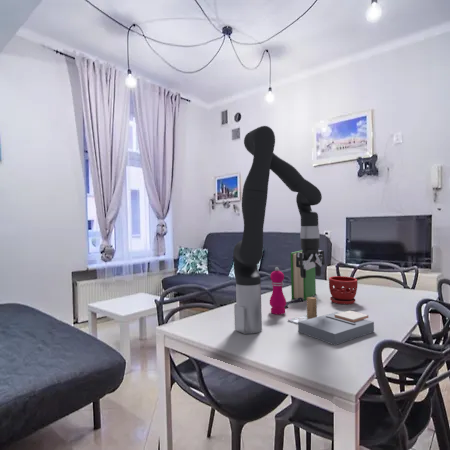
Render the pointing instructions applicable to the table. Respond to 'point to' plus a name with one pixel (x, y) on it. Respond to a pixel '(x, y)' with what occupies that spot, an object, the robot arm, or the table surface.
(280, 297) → the pepper mill
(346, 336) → the tile stand
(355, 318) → the tile
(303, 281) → the hardback book
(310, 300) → the trowel
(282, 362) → the table surface
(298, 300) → the bracket
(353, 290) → the plant pot
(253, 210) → the robot arm
